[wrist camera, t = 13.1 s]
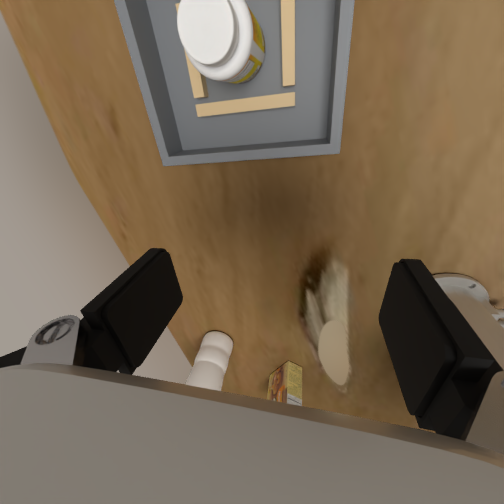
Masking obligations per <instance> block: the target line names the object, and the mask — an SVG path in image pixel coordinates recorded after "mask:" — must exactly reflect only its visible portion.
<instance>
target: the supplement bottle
mask: <svg viewBox="0 0 504 504" xmlns="http://www.w3.org/2000/svg"><path fill="white" fill-rule="evenodd" d="M177 27H178V32H179V36H180V39H181V42H182V44H183V46H184V49H185V51H186V54H187V56H188V58H189V60H190V61H191V63H192V64H193V66H194V67H195V68H196V69H197V70H198V71H199V72H200V73H201V74H202V75H204V76H205V77H207V78H210V79H212V80H216V81H223V82H229V83H235V84H242V83H245V82H248V81H250V80H251V79H253V78H254V77H255V76H256V75H257V73H258V72H259V70H260V68H261V66H262V64H263V61H264V56H265V39H264V35H263V31H262V29H261V27H260V25H259V23H258V21H257V20H256V18H255V17H254V15H253V13H252V12H251V10H250V8H249V7H248V5H247V3H246V2H245V0H181V1H180V4H179V8H178V14H177Z"/></svg>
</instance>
